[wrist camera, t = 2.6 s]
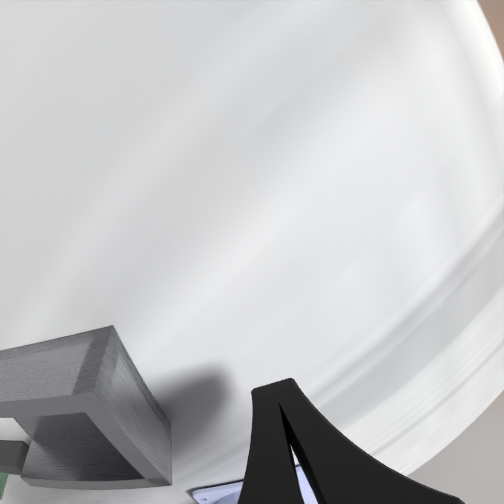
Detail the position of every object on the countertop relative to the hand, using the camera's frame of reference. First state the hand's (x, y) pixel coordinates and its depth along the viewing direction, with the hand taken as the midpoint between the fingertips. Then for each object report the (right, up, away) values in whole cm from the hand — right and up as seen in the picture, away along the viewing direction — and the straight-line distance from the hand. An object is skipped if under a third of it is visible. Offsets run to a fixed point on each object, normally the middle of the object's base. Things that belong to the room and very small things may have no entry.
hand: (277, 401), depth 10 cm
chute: (-9, -1, +2) cm, 9 cm away
